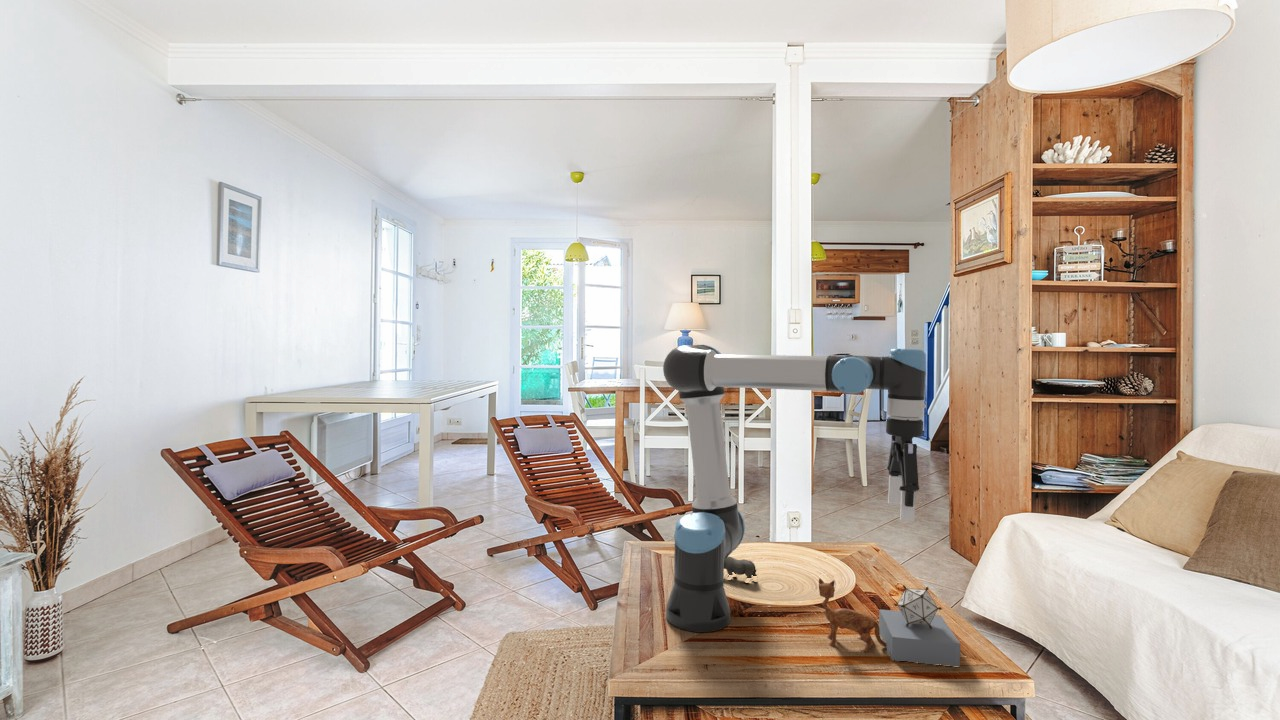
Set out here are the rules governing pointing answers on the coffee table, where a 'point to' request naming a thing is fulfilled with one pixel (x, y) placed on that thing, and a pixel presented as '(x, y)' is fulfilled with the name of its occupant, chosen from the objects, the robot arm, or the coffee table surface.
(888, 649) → the stand
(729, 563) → the dark grey animal figure
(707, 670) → the coffee table surface
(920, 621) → the game die
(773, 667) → the coffee table surface
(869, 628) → the cat figurine
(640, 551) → the coffee table surface
